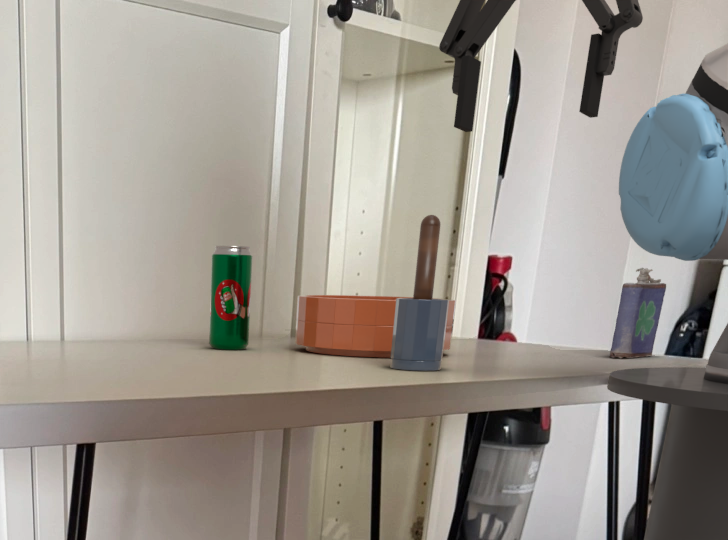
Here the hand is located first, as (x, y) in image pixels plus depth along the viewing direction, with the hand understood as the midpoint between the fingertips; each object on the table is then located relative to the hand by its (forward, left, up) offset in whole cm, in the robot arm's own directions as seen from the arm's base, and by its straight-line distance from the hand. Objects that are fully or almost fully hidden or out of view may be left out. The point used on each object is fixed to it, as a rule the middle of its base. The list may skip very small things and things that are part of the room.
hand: (523, 122), depth 105 cm
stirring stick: (+4, +9, -23) cm, 25 cm away
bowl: (+21, -6, -24) cm, 32 cm away
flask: (-1, -33, -24) cm, 41 cm away
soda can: (+34, +7, -24) cm, 42 cm away
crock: (+4, +9, -24) cm, 26 cm away
